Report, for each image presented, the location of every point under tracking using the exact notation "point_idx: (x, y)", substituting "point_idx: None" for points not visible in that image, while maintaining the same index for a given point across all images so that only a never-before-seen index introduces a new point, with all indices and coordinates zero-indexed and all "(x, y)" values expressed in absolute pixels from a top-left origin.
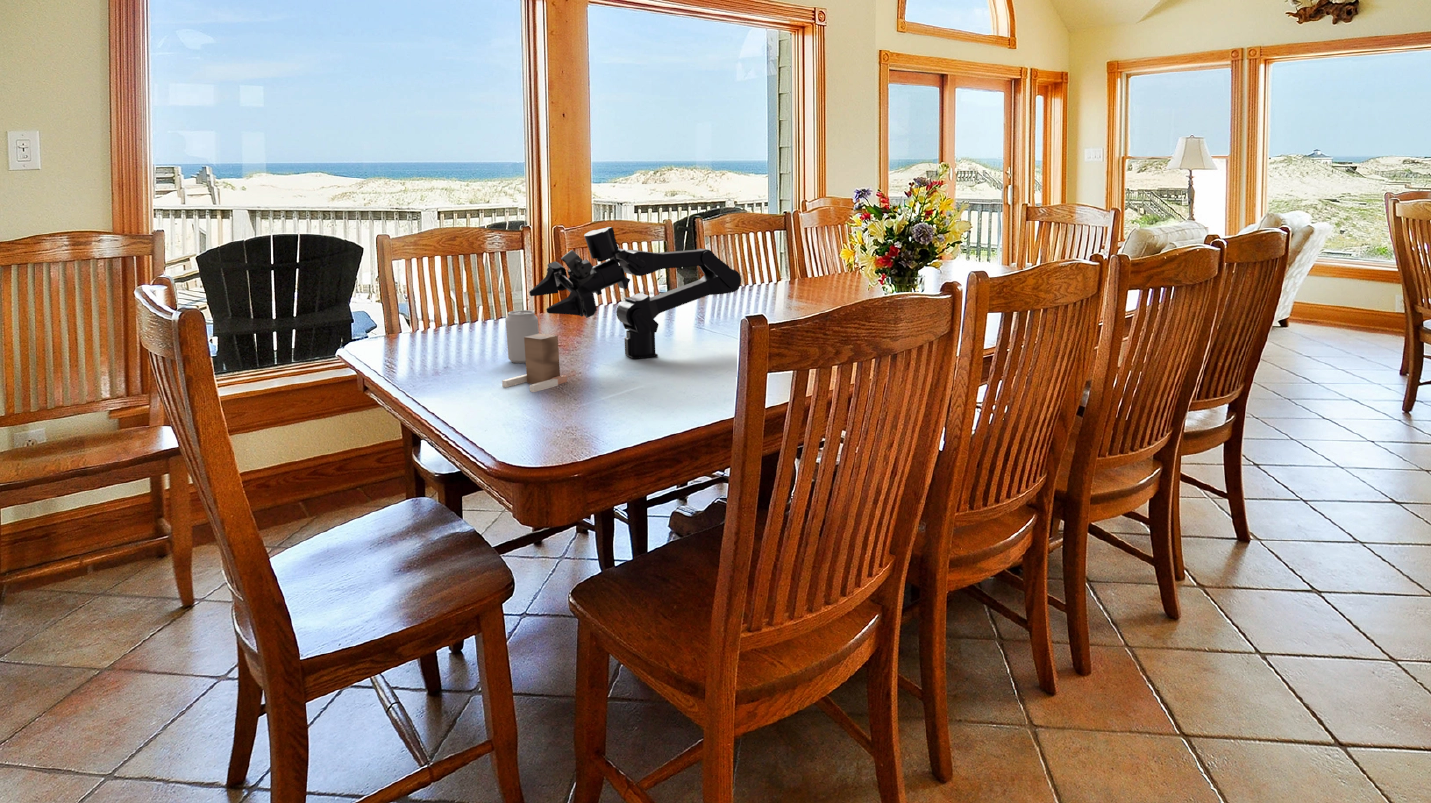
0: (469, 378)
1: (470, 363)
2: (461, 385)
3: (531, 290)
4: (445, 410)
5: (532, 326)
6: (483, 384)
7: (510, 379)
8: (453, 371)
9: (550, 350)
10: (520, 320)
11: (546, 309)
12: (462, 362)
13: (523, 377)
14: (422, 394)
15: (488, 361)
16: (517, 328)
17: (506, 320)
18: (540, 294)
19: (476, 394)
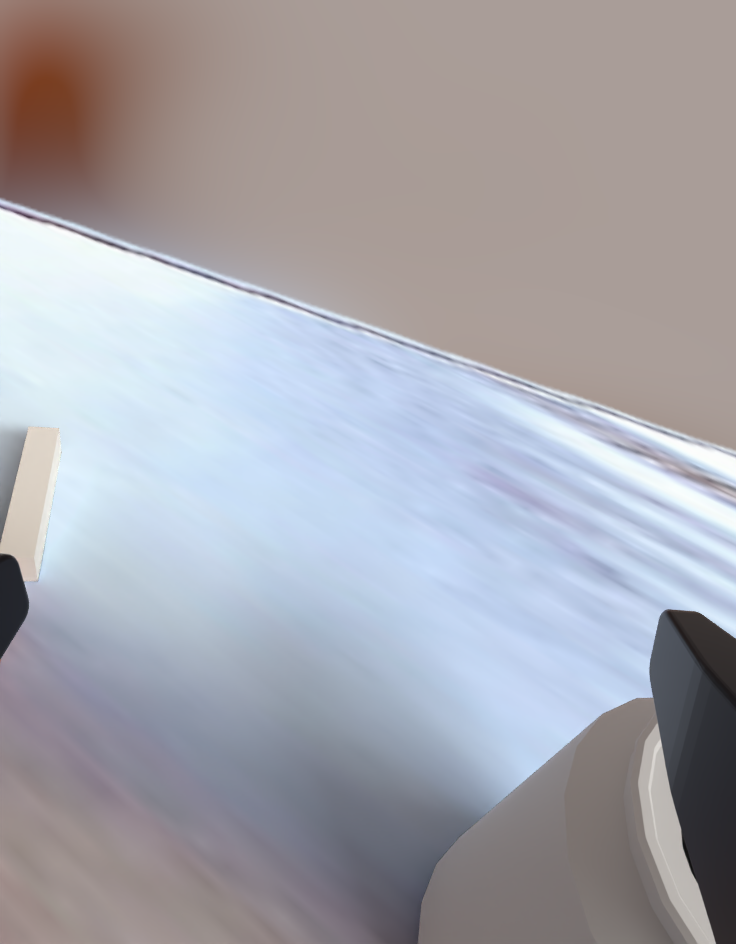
0: (338, 494)
1: (641, 685)
2: (255, 416)
3: (705, 629)
4: (18, 236)
5: (543, 909)
6: (190, 455)
7: (30, 451)
8: (512, 541)
9: None
10: (588, 749)
11: (7, 554)
12: None
13: (7, 518)
14: (254, 316)
15: None
16: (560, 752)
17: None
18: (708, 886)
19: (79, 358)
